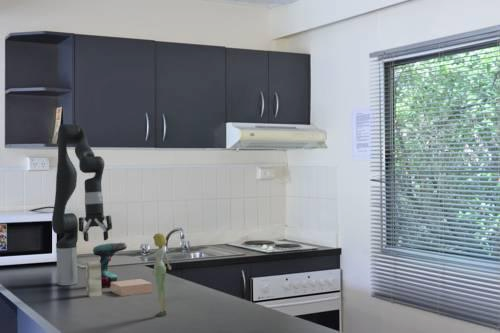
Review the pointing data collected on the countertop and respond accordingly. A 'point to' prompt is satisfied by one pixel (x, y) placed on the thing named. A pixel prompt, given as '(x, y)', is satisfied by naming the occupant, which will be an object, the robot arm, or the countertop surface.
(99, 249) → the power drill
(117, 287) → the base block
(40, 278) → the countertop surface
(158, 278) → the sculpture
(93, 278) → the post
